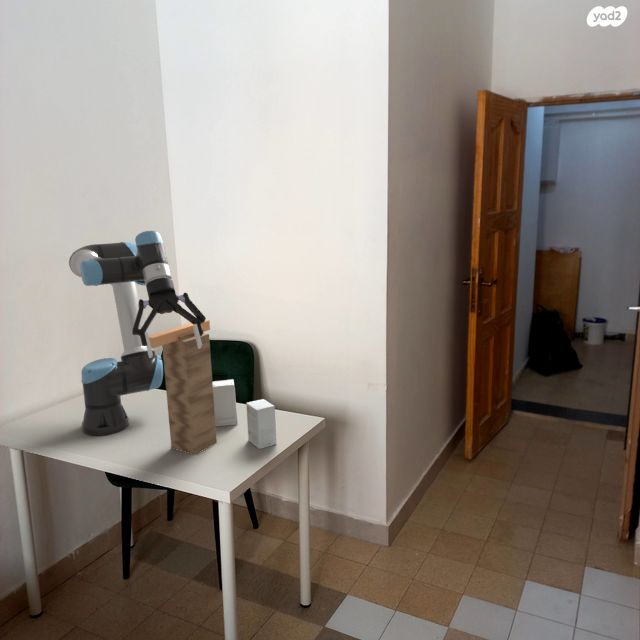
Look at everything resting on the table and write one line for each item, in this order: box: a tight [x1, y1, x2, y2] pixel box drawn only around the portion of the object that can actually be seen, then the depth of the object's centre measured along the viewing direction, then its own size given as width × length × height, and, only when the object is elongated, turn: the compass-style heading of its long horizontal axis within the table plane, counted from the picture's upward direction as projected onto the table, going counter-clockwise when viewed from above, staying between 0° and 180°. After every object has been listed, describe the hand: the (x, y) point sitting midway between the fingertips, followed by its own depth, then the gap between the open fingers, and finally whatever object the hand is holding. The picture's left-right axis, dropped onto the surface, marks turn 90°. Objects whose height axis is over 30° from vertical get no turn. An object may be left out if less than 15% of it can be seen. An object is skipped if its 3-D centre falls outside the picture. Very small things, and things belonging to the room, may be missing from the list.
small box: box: [246, 398, 277, 450], centre depth 189 cm, size 8×6×13 cm
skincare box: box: [212, 378, 239, 427], centre depth 206 cm, size 8×6×15 cm
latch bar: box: [146, 319, 211, 349], centre depth 179 cm, size 3×24×3 cm, turn 149°
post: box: [161, 329, 218, 455], centre depth 186 cm, size 10×10×37 cm
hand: (176, 351), depth 164 cm, fingers open, 13 cm apart
